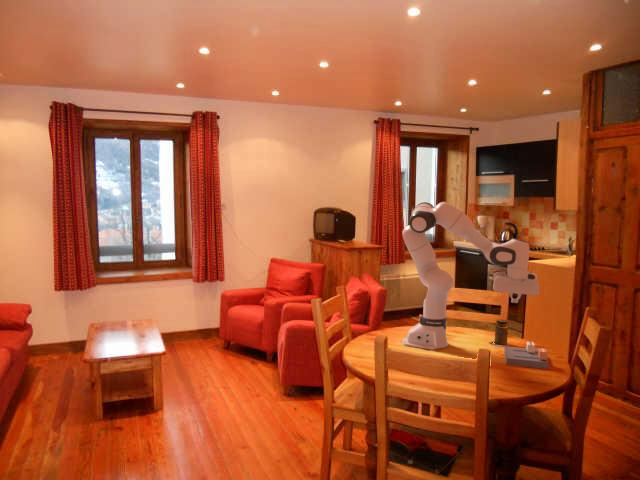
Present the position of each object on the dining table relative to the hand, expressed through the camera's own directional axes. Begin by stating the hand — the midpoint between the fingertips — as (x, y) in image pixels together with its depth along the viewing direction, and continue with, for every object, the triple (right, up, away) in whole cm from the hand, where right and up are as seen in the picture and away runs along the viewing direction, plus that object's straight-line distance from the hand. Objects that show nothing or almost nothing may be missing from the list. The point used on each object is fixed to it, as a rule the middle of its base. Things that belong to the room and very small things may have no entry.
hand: (514, 302), depth 231 cm
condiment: (0, -24, +20) cm, 31 cm away
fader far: (+6, -22, -2) cm, 23 cm away
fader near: (+8, -23, -12) cm, 27 cm away
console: (+3, -26, -5) cm, 26 cm away
